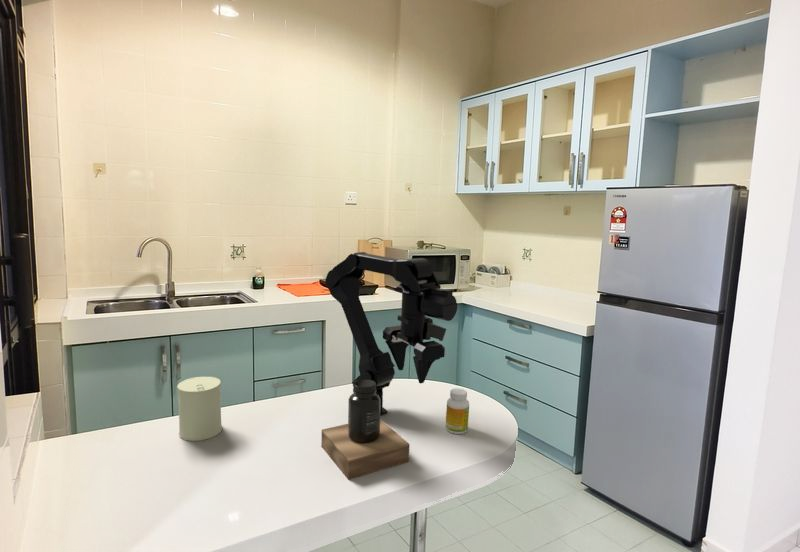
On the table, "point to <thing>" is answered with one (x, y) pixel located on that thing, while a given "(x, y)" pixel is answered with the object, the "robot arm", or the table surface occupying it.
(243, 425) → the table surface
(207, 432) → the can
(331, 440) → the block
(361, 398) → the supplement bottle
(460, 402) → the supplement bottle
